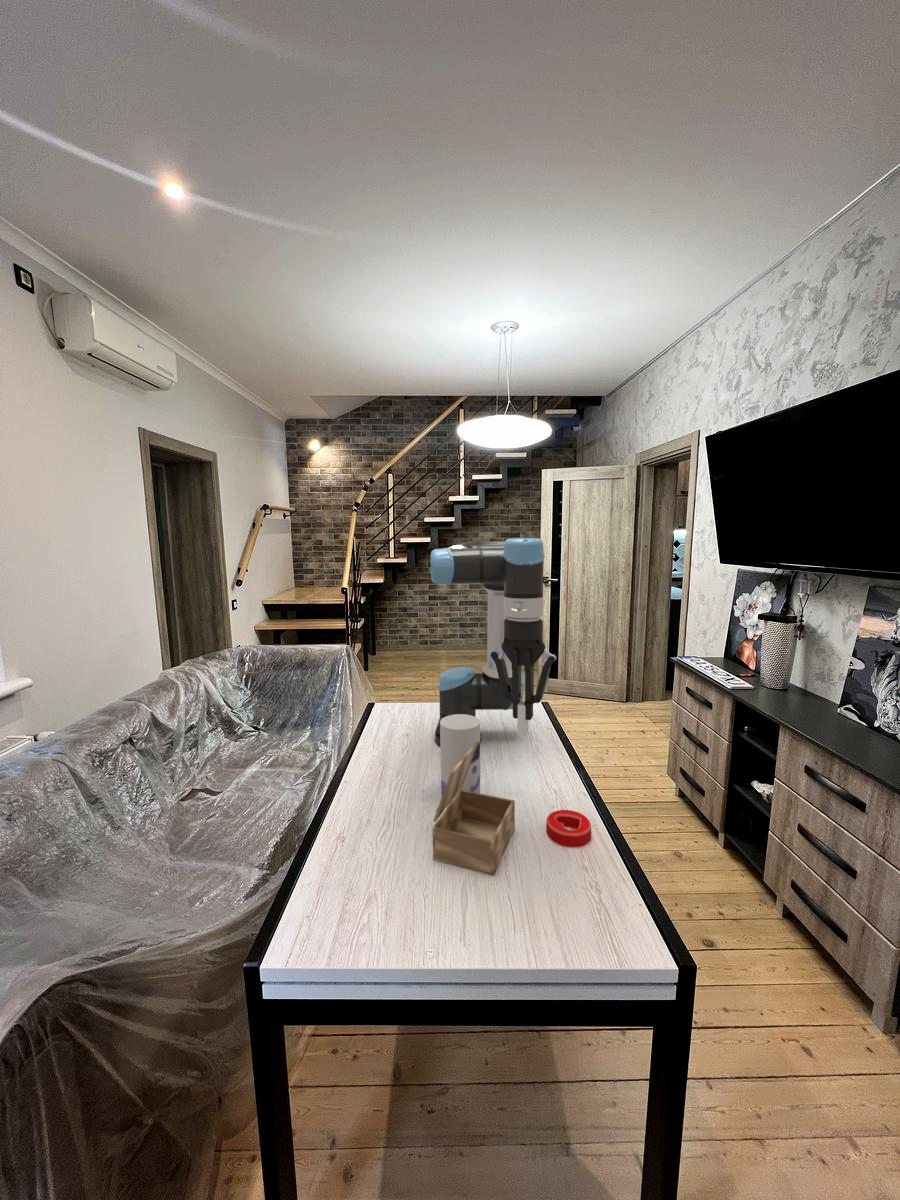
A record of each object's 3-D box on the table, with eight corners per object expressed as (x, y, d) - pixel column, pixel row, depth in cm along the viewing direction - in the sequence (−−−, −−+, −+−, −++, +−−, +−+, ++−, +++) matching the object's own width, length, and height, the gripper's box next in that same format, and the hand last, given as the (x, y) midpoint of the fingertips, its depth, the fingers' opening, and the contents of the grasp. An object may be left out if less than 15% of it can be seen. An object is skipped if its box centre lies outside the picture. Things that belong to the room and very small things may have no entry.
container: (477, 808, 118) (476, 730, 115) (437, 804, 120) (435, 727, 117) (482, 787, 127) (482, 714, 125) (445, 784, 129) (444, 712, 127)
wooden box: (461, 817, 114) (460, 789, 113) (514, 829, 109) (514, 800, 108) (432, 859, 99) (432, 828, 98) (493, 875, 94) (493, 842, 93)
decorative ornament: (598, 833, 108) (599, 820, 107) (576, 854, 101) (577, 840, 100) (561, 816, 114) (561, 804, 114) (537, 835, 107) (538, 821, 107)
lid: (462, 786, 112) (459, 784, 113) (478, 741, 109) (476, 740, 110) (435, 822, 98) (432, 821, 99) (453, 773, 95) (450, 771, 95)
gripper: (485, 619, 93) (486, 736, 96) (553, 623, 88) (552, 746, 91) (496, 613, 100) (496, 723, 103) (560, 616, 95) (558, 731, 98)
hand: (522, 734), depth 97 cm, fingers closed
